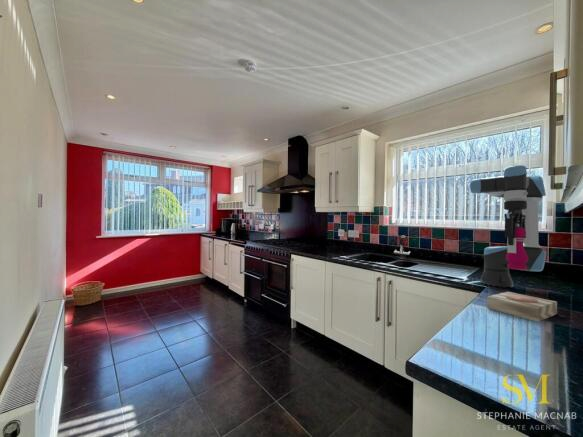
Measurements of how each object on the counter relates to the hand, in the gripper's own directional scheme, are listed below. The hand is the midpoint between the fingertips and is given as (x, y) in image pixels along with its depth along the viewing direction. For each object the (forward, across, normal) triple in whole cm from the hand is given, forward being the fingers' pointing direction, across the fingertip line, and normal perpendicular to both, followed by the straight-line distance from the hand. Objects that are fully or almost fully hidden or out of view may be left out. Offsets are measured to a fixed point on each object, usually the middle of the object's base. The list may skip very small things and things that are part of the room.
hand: (515, 252), depth 107 cm
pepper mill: (+7, 0, 0) cm, 7 cm away
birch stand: (+24, -5, -4) cm, 25 cm away
